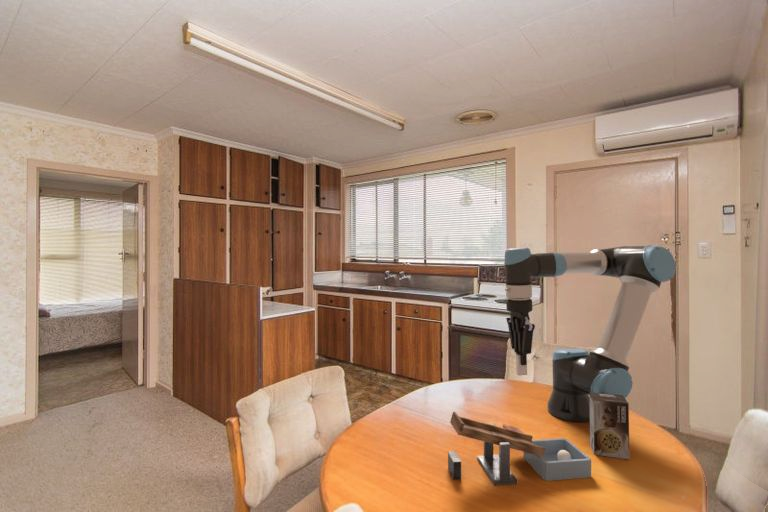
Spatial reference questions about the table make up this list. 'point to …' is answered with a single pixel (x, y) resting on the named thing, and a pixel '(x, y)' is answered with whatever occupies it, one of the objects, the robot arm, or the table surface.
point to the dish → (557, 468)
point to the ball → (563, 455)
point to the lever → (495, 434)
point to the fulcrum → (488, 464)
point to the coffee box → (609, 425)
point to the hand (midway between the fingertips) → (521, 374)
